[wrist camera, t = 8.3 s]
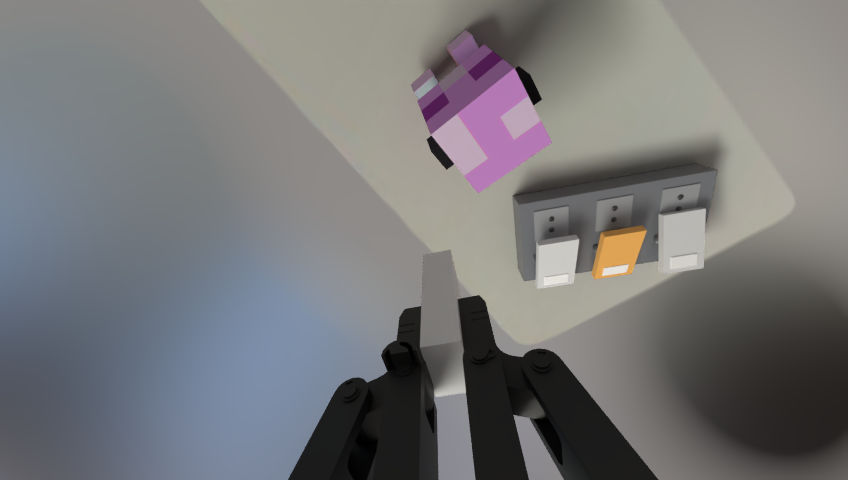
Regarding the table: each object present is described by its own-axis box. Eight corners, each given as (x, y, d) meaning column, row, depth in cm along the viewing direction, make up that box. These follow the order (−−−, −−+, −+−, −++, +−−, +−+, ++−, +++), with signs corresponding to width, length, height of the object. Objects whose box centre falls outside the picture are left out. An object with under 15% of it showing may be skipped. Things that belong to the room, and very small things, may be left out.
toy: (475, 20, 35) (530, 55, 24) (507, 81, 40) (565, 133, 29) (400, 87, 38) (418, 144, 27) (438, 135, 43) (466, 200, 32)
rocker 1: (536, 241, 42) (539, 246, 41) (576, 234, 41) (579, 239, 40) (535, 283, 47) (537, 289, 46) (570, 278, 46) (573, 284, 45)
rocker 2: (601, 232, 41) (605, 237, 40) (642, 225, 40) (647, 231, 40) (591, 273, 46) (594, 279, 45) (627, 268, 46) (632, 274, 45)
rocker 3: (658, 214, 42) (664, 215, 40) (699, 207, 41) (706, 208, 40) (658, 271, 44) (663, 274, 43) (697, 265, 43) (704, 268, 42)
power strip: (512, 196, 45) (520, 206, 41) (696, 163, 42) (722, 171, 39) (518, 268, 50) (525, 284, 46) (681, 243, 48) (703, 257, 44)
